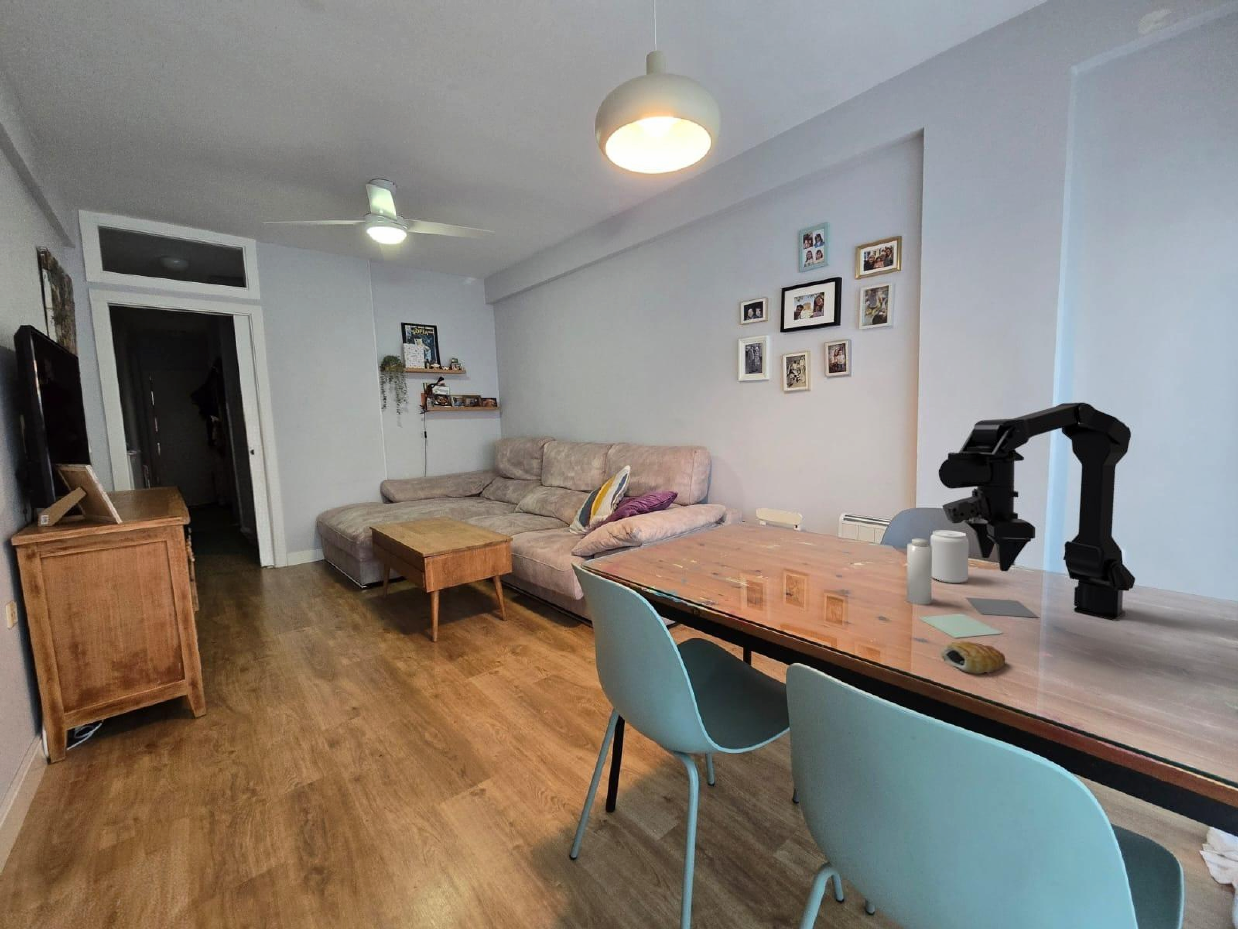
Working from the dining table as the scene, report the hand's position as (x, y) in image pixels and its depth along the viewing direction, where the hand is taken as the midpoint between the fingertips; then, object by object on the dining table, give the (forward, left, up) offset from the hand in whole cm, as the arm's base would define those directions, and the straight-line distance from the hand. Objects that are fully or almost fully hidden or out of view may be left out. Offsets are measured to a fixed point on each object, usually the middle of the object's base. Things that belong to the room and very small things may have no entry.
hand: (994, 564), depth 99 cm
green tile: (+4, +4, -13) cm, 14 cm away
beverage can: (+20, -25, -13) cm, 34 cm away
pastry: (-5, +19, -13) cm, 24 cm away
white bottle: (+16, -4, -13) cm, 21 cm away
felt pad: (+4, -13, -13) cm, 19 cm away
